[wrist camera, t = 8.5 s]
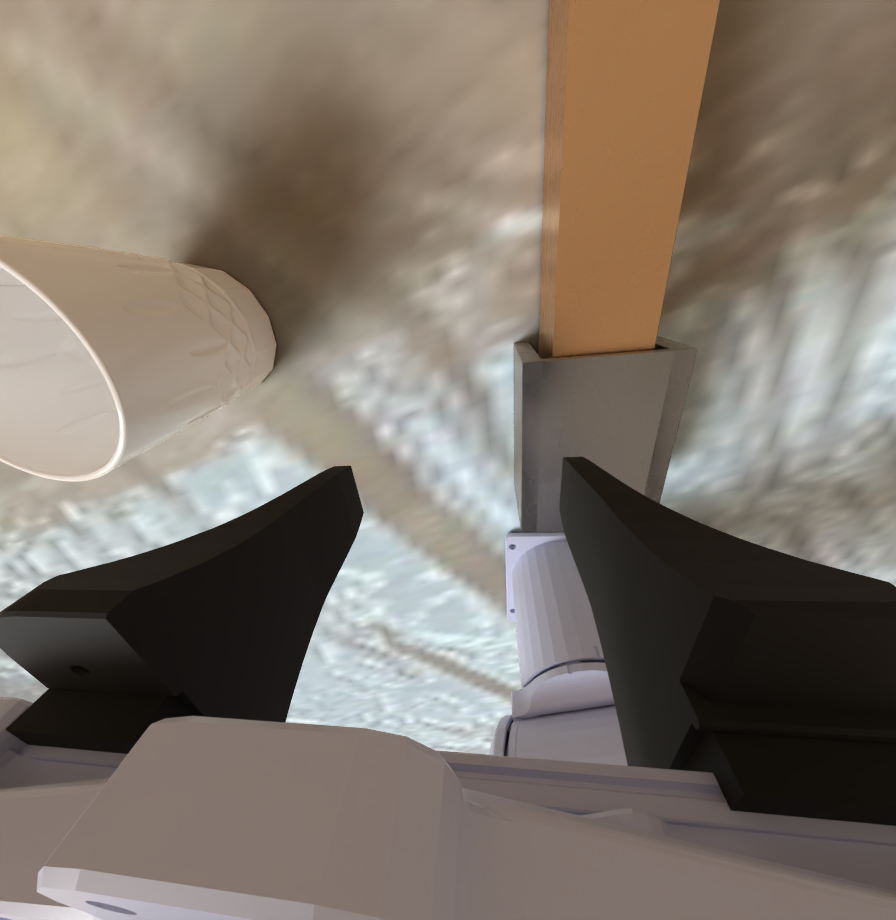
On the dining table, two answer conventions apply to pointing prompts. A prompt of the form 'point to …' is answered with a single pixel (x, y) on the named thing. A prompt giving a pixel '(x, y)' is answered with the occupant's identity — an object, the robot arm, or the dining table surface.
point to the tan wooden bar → (616, 165)
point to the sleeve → (595, 421)
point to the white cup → (116, 353)
